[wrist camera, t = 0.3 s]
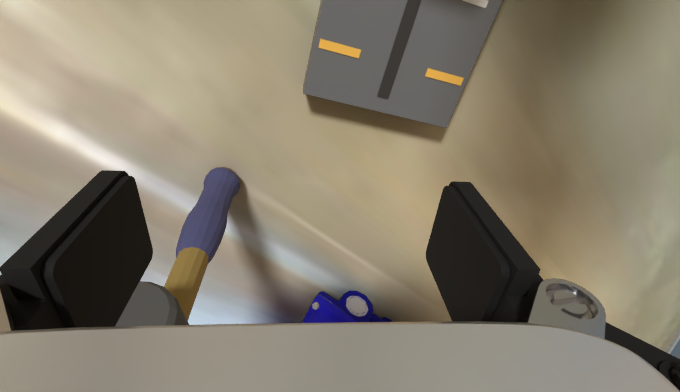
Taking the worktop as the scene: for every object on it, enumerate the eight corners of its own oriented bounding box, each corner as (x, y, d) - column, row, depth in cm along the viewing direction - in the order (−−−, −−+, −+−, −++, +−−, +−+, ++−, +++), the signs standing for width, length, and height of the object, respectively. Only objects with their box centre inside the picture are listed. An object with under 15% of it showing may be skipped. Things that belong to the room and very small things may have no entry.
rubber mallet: (261, 217, 47) (209, 505, 21) (203, 219, 46) (79, 517, 21) (249, 127, 40) (154, 392, 15) (181, 128, 39) (-40, 406, 14)
